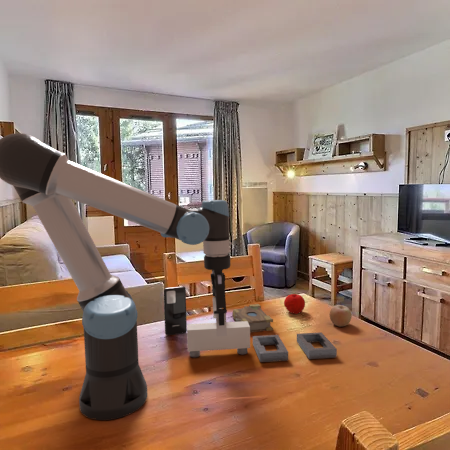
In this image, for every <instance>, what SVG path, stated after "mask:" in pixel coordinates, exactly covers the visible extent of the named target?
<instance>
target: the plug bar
mask: <svg viewBox="0 0 450 450" xmlns="http://www.w3.org/2000/svg"><path fill="white" fill-rule="evenodd" d="M226 327H227V336H217V330H216V322H205V323H187V332H186V338H187V340H186V341H187V352H188V353H189V357H190V358H198V357H200V356H201V352H203V351H218V350H219V351H220V350H221V351H222V350H236V351H237V354H238V355H246V354H248V349H251V333H250V326H249V323H248V321H241V322H236V321H226Z"/></svg>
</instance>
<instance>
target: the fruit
mask: <svg viewBox="0 0 450 450" xmlns="http://www.w3.org/2000/svg"><path fill="white" fill-rule="evenodd" d="M352 315H353V314H352V311H351V309H350V308H349V307H348V306H346V305H342V302H339V304H337V305H333V306H332V307H331V308H330V310H329V319H330V322H331V323H332V324H333V325H335V326H337V327H340V328H341V327H346V326H347V325H349V324H350V322H351V320H352Z"/></svg>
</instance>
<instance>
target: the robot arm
mask: <svg viewBox="0 0 450 450" xmlns="http://www.w3.org/2000/svg"><path fill="white" fill-rule="evenodd" d="M0 179H1V180H2V181H3V182H4V183H6V184H8V185H10V186H13V188H14V190H15V191H16V193H17V195H18V197H19V199H20V200H21V202H22V203H23V204H26V205H28V206H31V207H32V208H33V210H34V211H35V213H36V215H37V217H38V219H39V220H40V222H41V224H42V226H43V227H44V229H45V231H46V233H47V235H48V236H49V239H50V240H51V242H52V244H53V245H54V247H55V250H56V251H57V253H58V255H59V257H60V258H61V260H62V262H63V263H64V266H65V268H66V269H67V271H68V273H69V275H70V276H71V279H72V280H73V282H74V284H75V286H76V287H77V290H78V294H77V297H76V300H77V302H78V305H79V306H80V308H81V310H82V316H81V317H82V318H81V324H82V327H83V340H84V341H83V343H84V359H85V363H84V364H85V375H84V379H83V382H82V386H81V390H80V393H79V401H78V402H79V410H80V413H81V414H82V415H83V416H85V418H86V417H87V418H89V419H90V420H91V419H92V420H95V421H97V420H99V421H109V420H116V419H120V418H123V417H126V416H127V415H131V414H132V413H134V412H135V411H137V410H139V409H141V407H142V406H143V405H144V404H145V403H146V401H147V399H148V385H147V381H146V379H145V376H144V375H143V372H142V369H141V366H140V364H139V345H138V344H139V341H138V340H139V338H138V310H137V307H136V304H135V303H136V302H135V301H134V300H133V297H132V295H131V294H130V293H129V291H127V290H126V288H125V286H124V285H123V282H122V281H121V279H120V277H119V276H116V275H113V274H111V272H110V270H109V268H108V266H107V265H106V263H105V261H104V260H103V257H102V255H101V253H100V252H99V250H98V248H97V246H96V244H95V242H94V240H93V238H92V237H91V236H92V235H91V234H90V232H89V230H88V229H87V227H86V225H85V223H84V221H83V219H82V218H81V215H80V214H79V211H78V210H77V208H76V205H75V203H74V201H76V202H79V203H81V204H84V205H87V206H89V207H92V208H95V209H96V210H100V211H102V212H104V213H107V214H111V215H113V216H115V217H118V218H121V219H124V220H127V221H129V222H132V223H134V224H137V225H140V226H142V227H144V228H148V229H151V230H153V231H156V232H158V233H160V235H161V237H163V238H171V239H173V238H174V239H175V240H179V241H181V242H182V243H184V244H187V245H192V246H195V245H196V246H197V245H199V244H202V247H203V249H202V250H203V251H202V252H203V254H204V256H203V264H204V266H203V267H204V269H205V270H208V271H211V273H210V281H211V285H212V286H211V288H212V289H211V292H212V313H213V317H212V318H213V319H215V323H216V330H217V336H227V327H226V322H227V313H228V310H227V303H226V302H227V300H226V274H225V272H223V271H224V270H228V269H230V267H231V255H230V252H231V249H230V248H231V247H230V246H232V242H231V241H230V213H229V211H230V210H229V203H228V202H227V201H226V200H223V199H210V200H203V201H202V202H201V206H200V207H196V208H186V207H184V206H181V205H178V204H175V203H174V202H171V201H168V200H166V199H164V198H162V197H158V196H156V195H154V194H151V193H149V192H147V191H144V190H141V189H139V188H137V187H135V186H133V185H129V184H128V183H124V182H122V181H119V180H118V179H115V178H113V177H111V176H108V175H105V174H103V173H100V172H98V171H96V170H93V169H91V168H88V167H86V166H83V165H81V164H79V163H76V162H74V161H72V160H70V159H69V158H68V156H67V154H66V153H64V152H61V151H59V150H57V149H56V148H53V147H52V146H50V145H49V144H47V143H46V142H44V141H42V140H40V139H38V138H37V137H35V136H33V135H30V134H27V133H21V132H19V133H16V132H15V133H10V134H7V135H5V136H3V137H1V138H0ZM73 200H74V201H73Z"/></svg>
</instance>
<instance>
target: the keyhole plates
mask: <svg viewBox="0 0 450 450" xmlns="http://www.w3.org/2000/svg"><path fill="white" fill-rule="evenodd" d="M296 343H297V344H298V346H299V347H300V348H301V350H302V351H303V352H304V354H305V355H306V357H307V358H308V359H309V360H316V359H330V358H332V359H333V358H337V357H338V356H337V352H338V351H337V350H338V349H337V348H336V346H334V344H333V343H332V342H331V341H330V340H329V339H328V338H327V336H325V334H324V333H323V332H320V331H319V332H306V333H296ZM312 343H319V344H320V345H321V346H322V347H314V345H313V344H312ZM252 345H253V348H254V350H255V353H256V355H257V357H258V361H259V362H260V363H265V362H266V363H268V362H285V361H287V362H288V361H289V351H288V349H287V347H286V346H285V344H284V342H283V341H282V339H281V337H280V336H279V334H271V335H270V334H268V335H254V336H253V335H252ZM270 345H272V346H273V345H275V347H276V350H266V347H265V346H270Z"/></svg>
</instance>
